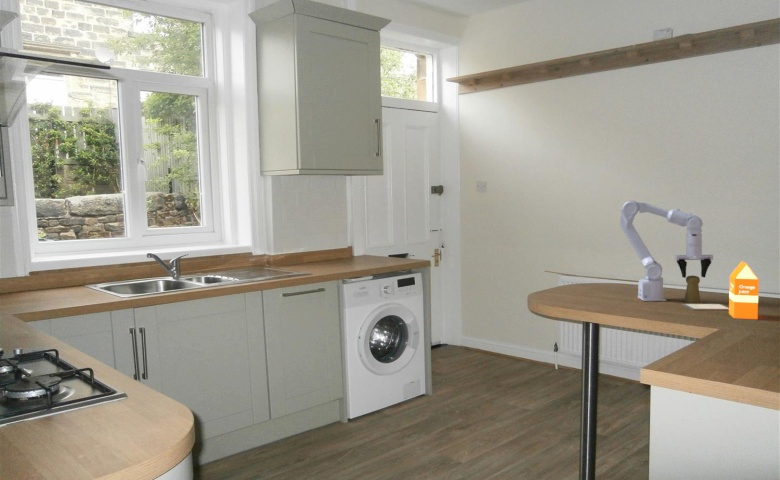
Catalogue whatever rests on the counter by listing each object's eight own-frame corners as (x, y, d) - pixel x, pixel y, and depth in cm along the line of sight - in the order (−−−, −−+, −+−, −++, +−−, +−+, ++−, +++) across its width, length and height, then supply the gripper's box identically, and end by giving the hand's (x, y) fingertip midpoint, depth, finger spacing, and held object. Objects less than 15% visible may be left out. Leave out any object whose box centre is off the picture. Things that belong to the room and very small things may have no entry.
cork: (702, 303, 243) (703, 276, 242) (686, 303, 244) (687, 276, 243) (697, 300, 249) (698, 274, 248) (682, 300, 250) (683, 274, 249)
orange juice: (751, 314, 221) (753, 261, 219) (757, 319, 213) (759, 264, 211) (728, 313, 224) (729, 260, 222) (733, 318, 215) (734, 263, 214)
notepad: (692, 310, 230) (693, 308, 230) (682, 304, 241) (682, 303, 241) (733, 310, 228) (733, 309, 228) (720, 304, 239) (720, 303, 239)
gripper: (679, 245, 242) (679, 278, 243) (716, 245, 240) (716, 278, 241) (673, 244, 249) (672, 276, 250) (709, 243, 247) (708, 275, 248)
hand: (693, 277), depth 246 cm, fingers open, 7 cm apart
